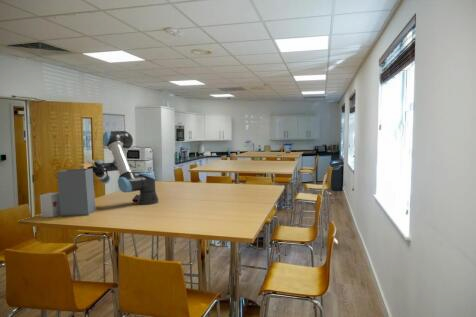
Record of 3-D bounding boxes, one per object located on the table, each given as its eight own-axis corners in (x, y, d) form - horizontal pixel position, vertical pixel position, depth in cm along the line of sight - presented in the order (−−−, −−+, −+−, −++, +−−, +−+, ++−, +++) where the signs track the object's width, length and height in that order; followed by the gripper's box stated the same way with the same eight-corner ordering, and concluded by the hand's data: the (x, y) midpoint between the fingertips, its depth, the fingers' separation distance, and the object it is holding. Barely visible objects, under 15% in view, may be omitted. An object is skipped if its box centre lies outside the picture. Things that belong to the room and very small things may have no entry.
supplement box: (52, 217, 217) (50, 195, 216) (41, 217, 219) (39, 195, 217) (62, 214, 226) (60, 192, 224) (51, 213, 227) (49, 192, 226)
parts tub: (95, 210, 232) (92, 168, 229) (88, 215, 219) (85, 170, 216) (69, 212, 231) (65, 169, 228) (60, 216, 218) (56, 171, 215)
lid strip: (96, 165, 257) (95, 161, 257) (83, 168, 234) (83, 164, 233) (92, 165, 257) (92, 161, 257) (79, 168, 233) (79, 165, 233)
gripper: (109, 177, 269) (100, 165, 248) (89, 177, 268) (78, 166, 247) (110, 168, 272) (101, 156, 251) (90, 169, 271) (79, 157, 250)
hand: (89, 161), depth 249 cm, fingers closed on lid strip, 3 cm apart
